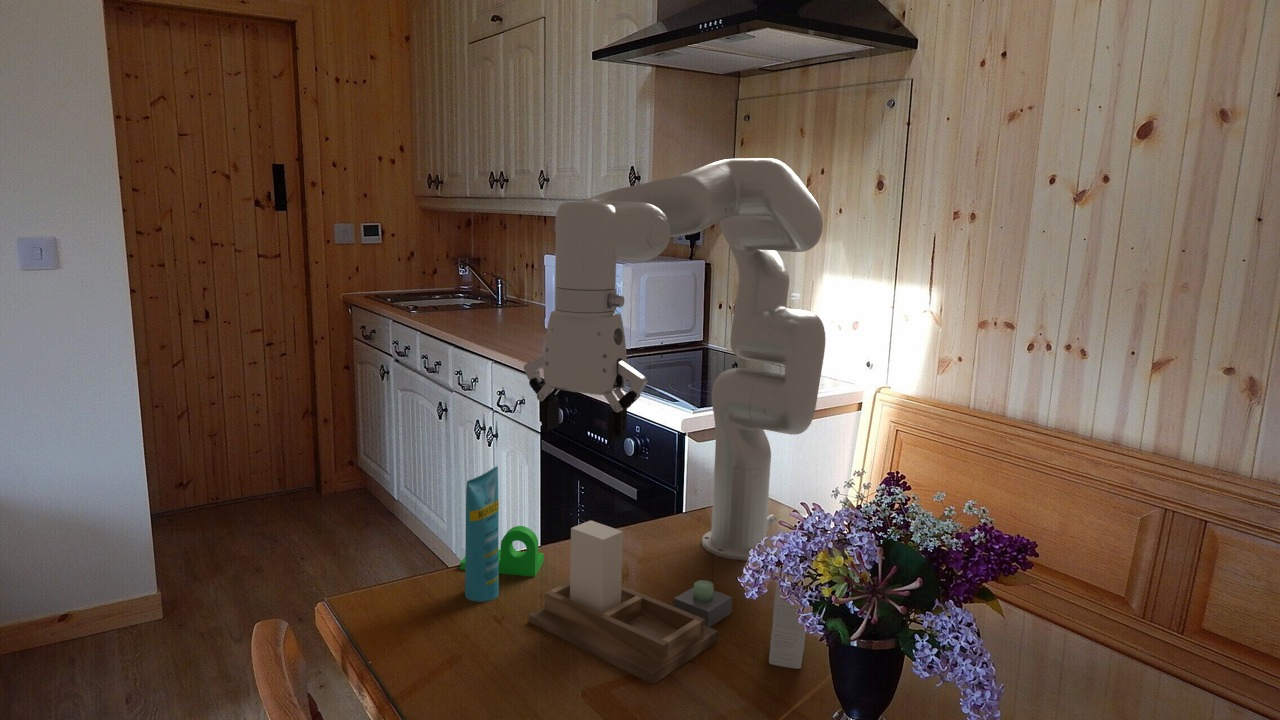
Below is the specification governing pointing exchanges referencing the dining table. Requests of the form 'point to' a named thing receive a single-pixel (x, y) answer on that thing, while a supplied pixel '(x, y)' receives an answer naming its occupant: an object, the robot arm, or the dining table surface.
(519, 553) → the mechanical part
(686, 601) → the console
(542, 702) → the dining table surface
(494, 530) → the tube
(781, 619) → the skincare box
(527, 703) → the dining table surface
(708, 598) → the button
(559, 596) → the wooden compartment tray
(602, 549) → the billet
